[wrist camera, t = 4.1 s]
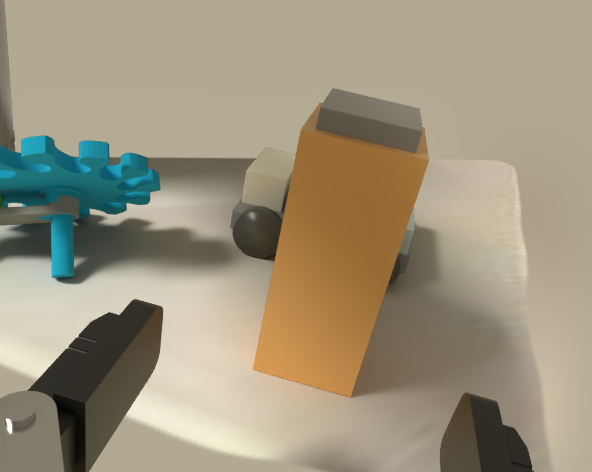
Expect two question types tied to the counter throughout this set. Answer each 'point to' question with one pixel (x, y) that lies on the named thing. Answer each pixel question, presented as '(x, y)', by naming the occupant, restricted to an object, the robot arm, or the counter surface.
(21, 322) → the counter surface
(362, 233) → the orange tower grey cap
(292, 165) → the truck
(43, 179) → the gear
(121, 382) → the robot arm
